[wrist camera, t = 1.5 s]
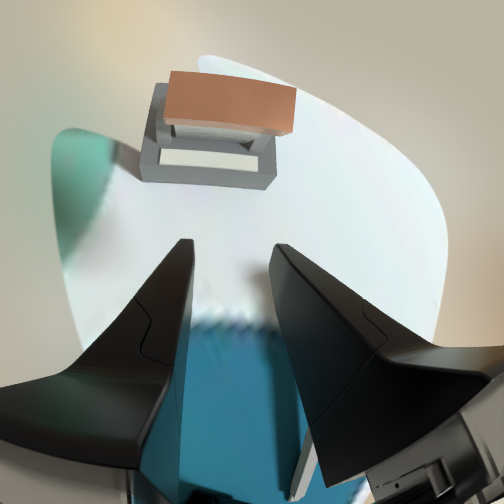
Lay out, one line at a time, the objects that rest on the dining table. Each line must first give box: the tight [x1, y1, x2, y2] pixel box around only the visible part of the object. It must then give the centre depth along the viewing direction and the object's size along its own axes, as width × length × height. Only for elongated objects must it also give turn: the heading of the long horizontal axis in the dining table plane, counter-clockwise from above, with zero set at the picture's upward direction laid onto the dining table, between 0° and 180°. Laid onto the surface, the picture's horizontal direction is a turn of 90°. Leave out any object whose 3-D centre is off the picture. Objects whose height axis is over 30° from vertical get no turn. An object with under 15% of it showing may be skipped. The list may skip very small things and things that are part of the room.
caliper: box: [288, 426, 318, 502], centre depth 19 cm, size 20×1×6 cm, turn 174°
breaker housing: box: [139, 83, 277, 190], centre depth 20 cm, size 8×10×6 cm
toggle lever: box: [163, 71, 296, 144], centre depth 15 cm, size 2×6×9 cm, turn 90°
